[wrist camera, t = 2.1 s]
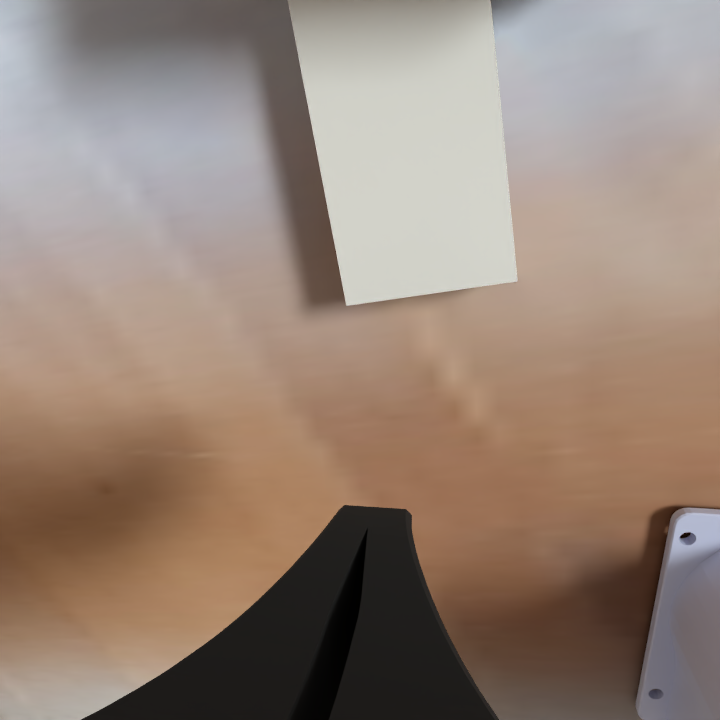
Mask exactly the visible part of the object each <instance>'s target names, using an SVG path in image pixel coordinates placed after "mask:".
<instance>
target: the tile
mask: <svg viewBox="0 0 720 720" xmlns="http://www.w3.org/2000/svg"><path fill="white" fill-rule="evenodd" d="M288 5H289V10H290V16H291V21H292V26H293V31H294V36H295V42H296V47H297V52H298V57H299V62H300V68H301V73H302V78H303V83H304V88H305V93H306V99H307V104H308V109H309V114H310V119H311V125H312V130H313V135H314V140H315V145H316V151H317V156H318V161H319V166H320V171H321V177H322V182H323V187H324V192H325V197H326V203H327V208H328V213H329V218H330V223H331V228H332V234H333V239H334V244H335V249H336V254H337V260H338V265H339V270H340V275H341V280H342V286H343V291H344V296H345V301H346V306H349V305H356V304H363V303H370V302H377V301H384V300H391V299H398V298H405V297H412V296H419V295H426V294H433V293H440V292H447V291H454V290H461V289H468V288H474V287H481V286H488V285H495V284H502V283H509V282H516V281H518V280H517V270H516V259H515V249H514V238H513V228H512V217H511V207H510V197H509V186H508V176H507V165H506V155H505V144H504V134H503V124H502V113H501V103H500V92H499V82H498V71H497V61H496V50H495V40H494V30H493V19H492V9H491V0H288Z"/></svg>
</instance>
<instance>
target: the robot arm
mask: <svg viewBox="0 0 720 720" xmlns="http://www.w3.org/2000/svg"><path fill="white" fill-rule="evenodd" d="M686 532H690V533H691V534H690V536H688V537H686V538H680V536H681V535H682V534H683V533H686ZM652 689H656V690H652ZM636 710H637V713H638V715H639V717H640V718H641V719H643V720H720V509H704V508H682V509H679V510H677V511H676V512H675V513H674V514H673V515H672V517H671V519H670V525H669V530H668V535H667V540H666V546H665V551H664V556H663V562H662V567H661V572H660V577H659V583H658V588H657V593H656V599H655V604H654V609H653V614H652V620H651V625H650V630H649V635H648V641H647V646H646V651H645V657H644V662H643V667H642V672H641V678H640V683H639V688H638V694H637V699H636ZM81 720H499V719H498V717H497V716H496V714H495V713H494V711H493V710H492V709H491V707H490V706H489V704H488V703H487V701H486V700H485V698H484V697H483V695H482V694H481V692H480V691H479V689H478V687H477V686H476V684H475V682H474V681H473V679H472V677H471V675H470V674H469V672H468V670H467V669H466V667H465V665H464V664H463V662H462V660H461V658H460V656H459V654H458V652H457V651H456V649H455V647H454V645H453V643H452V641H451V639H450V637H449V635H448V633H447V631H446V629H445V627H444V625H443V622H442V620H441V618H440V616H439V613H438V611H437V609H436V607H435V604H434V602H433V600H432V597H431V594H430V592H429V589H428V587H427V584H426V581H425V578H424V575H423V572H422V569H421V566H420V563H419V560H418V556H417V553H416V549H415V544H414V540H413V535H412V515H411V514H410V513H409V512H408V511H407V510H406V509H394V508H379V507H364V506H349V505H344V506H343V507H342V508H341V509H340V510H339V511H338V512H337V513H336V515H335V516H334V517H333V519H332V520H331V521H330V523H329V524H328V525H327V526H326V528H325V529H324V530H323V531H322V533H321V534H320V535H319V536H318V537H317V539H316V540H315V541H314V542H313V543H312V544H311V546H310V547H309V548H308V549H307V550H306V551H305V552H304V553H303V555H302V556H301V557H300V558H299V559H298V560H297V561H296V562H295V563H294V565H293V566H292V567H291V568H290V569H289V570H288V571H287V572H286V573H285V574H284V575H283V576H282V577H281V578H280V579H279V580H278V581H277V582H276V583H275V584H274V585H273V586H272V587H271V588H270V589H269V590H268V591H267V592H266V593H265V594H264V595H263V596H262V597H261V598H260V599H259V600H258V601H257V602H255V603H254V604H253V605H252V606H251V607H250V608H249V609H248V610H247V611H245V612H244V613H243V614H242V615H241V616H240V617H239V618H237V619H236V620H235V621H234V622H232V623H231V624H230V625H229V626H228V627H226V628H225V629H224V630H223V631H222V632H220V633H219V634H218V635H216V636H215V637H214V638H213V639H211V640H210V641H208V642H207V643H206V644H204V645H203V646H202V647H200V648H199V649H197V650H196V651H195V652H193V653H192V654H190V655H189V656H187V657H186V658H184V659H183V660H182V661H180V662H179V663H177V664H176V665H174V666H173V667H172V668H170V669H169V670H167V671H166V672H164V673H162V674H161V675H159V676H158V677H156V678H154V679H153V680H151V681H149V682H148V683H146V684H145V685H143V686H141V687H140V688H138V689H136V690H135V691H133V692H131V693H129V694H128V695H126V696H124V697H122V698H121V699H119V700H117V701H115V702H114V703H112V704H110V705H108V706H106V707H105V708H103V709H101V710H99V711H97V712H95V713H93V714H91V715H89V716H87V717H85V718H83V719H81Z"/></svg>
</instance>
